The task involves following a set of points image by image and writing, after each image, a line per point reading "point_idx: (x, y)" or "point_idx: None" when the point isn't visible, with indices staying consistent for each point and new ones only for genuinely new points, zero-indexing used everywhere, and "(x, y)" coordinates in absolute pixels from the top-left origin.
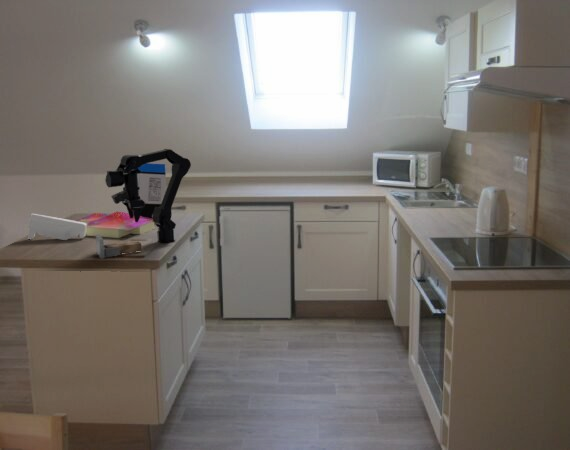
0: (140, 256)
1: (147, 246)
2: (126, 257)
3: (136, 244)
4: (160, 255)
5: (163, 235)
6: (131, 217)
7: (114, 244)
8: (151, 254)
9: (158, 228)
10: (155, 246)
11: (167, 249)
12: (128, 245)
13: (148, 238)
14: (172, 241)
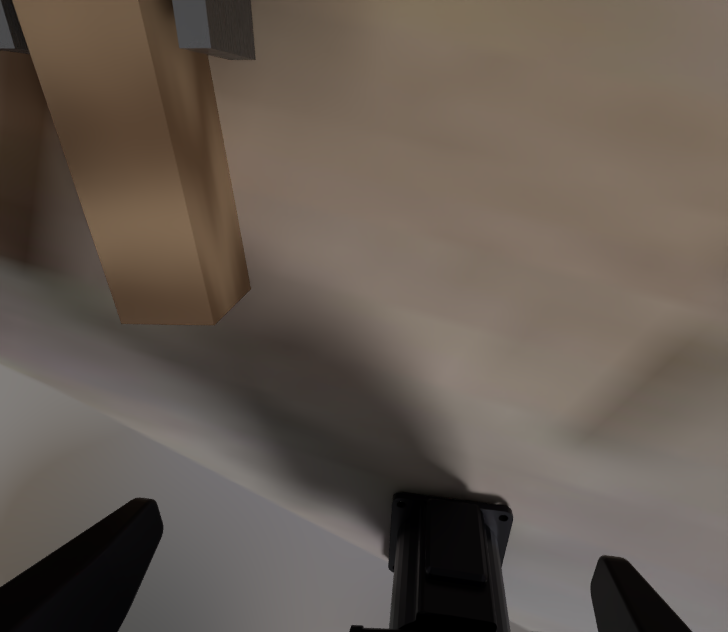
0: (25, 237)
1: (347, 383)
2: (3, 110)
3: (107, 274)
4: (38, 370)
5: (407, 562)
6: (601, 589)
7: (175, 13)
8: (76, 329)
9: (480, 614)
10: (318, 428)
11: (195, 458)
12: (78, 183)
13: (644, 479)
14: (389, 553)
